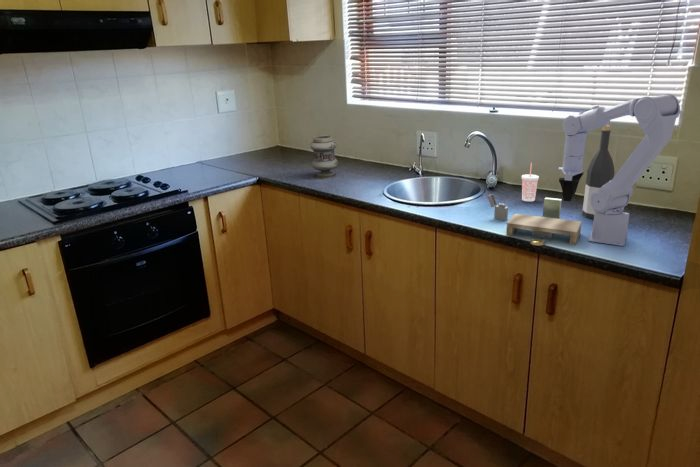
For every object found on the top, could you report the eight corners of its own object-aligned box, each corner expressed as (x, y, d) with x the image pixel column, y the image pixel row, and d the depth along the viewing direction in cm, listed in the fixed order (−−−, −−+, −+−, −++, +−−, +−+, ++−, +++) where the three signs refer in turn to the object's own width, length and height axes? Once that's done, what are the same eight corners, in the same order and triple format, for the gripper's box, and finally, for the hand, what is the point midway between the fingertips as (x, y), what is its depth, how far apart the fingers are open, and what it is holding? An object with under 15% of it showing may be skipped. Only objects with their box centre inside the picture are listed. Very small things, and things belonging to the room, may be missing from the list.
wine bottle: (576, 213, 180) (587, 125, 169) (595, 210, 182) (606, 122, 172) (594, 220, 173) (606, 128, 162) (613, 217, 175) (626, 126, 165)
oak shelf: (580, 233, 162) (581, 221, 161) (575, 244, 154) (576, 232, 153) (514, 225, 172) (514, 213, 170) (506, 235, 164) (507, 222, 162)
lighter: (507, 219, 177) (509, 196, 175) (505, 220, 176) (506, 197, 174) (488, 215, 182) (489, 193, 179) (486, 216, 181) (487, 194, 178)
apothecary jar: (309, 174, 248) (307, 135, 242) (334, 171, 251) (332, 133, 245) (316, 180, 237) (313, 139, 231) (341, 176, 240) (339, 137, 234)
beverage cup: (518, 201, 196) (520, 164, 191) (521, 196, 201) (524, 160, 196) (535, 202, 193) (538, 165, 188) (538, 198, 198) (541, 161, 193)
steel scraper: (560, 222, 173) (562, 199, 170) (551, 238, 160) (553, 213, 157) (542, 220, 175) (544, 197, 172) (532, 235, 163) (534, 210, 160)
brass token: (545, 243, 157) (546, 239, 157) (543, 247, 154) (543, 244, 154) (531, 241, 159) (532, 238, 159) (529, 245, 156) (529, 242, 156)
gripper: (563, 149, 169) (559, 190, 174) (555, 158, 158) (551, 202, 162) (587, 150, 166) (582, 192, 171) (581, 160, 154) (576, 205, 159)
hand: (569, 197), depth 166 cm, fingers open, 7 cm apart
